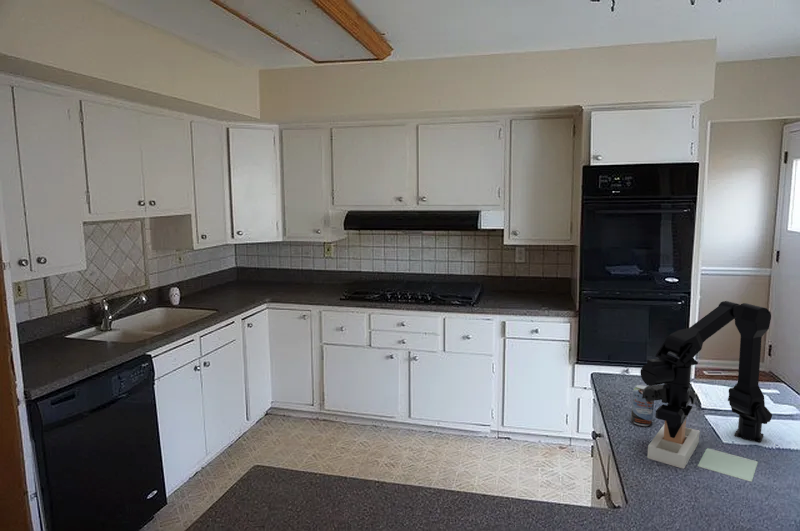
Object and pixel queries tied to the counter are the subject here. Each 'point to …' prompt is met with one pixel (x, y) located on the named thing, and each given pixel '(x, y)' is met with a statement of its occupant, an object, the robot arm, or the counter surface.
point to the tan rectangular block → (679, 436)
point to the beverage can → (641, 407)
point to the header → (673, 448)
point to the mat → (728, 464)
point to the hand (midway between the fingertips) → (674, 434)
